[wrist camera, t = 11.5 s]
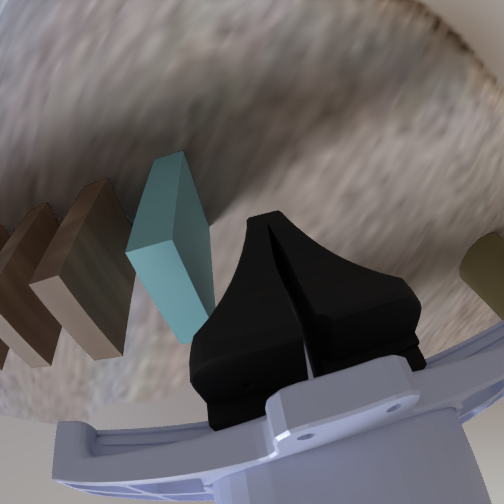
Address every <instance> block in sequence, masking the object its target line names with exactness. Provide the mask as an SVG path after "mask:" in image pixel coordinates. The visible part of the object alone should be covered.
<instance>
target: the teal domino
mask: <svg viewBox="0 0 504 504" xmlns="http://www.w3.org/2000/svg"><path fill="white" fill-rule="evenodd" d="M125 253H126V255H127V257H128V259H129V260H130V262H131V264H132V266H133V267H134V269H135V271H136V273H137V274H138V276H139V278H140V280H141V281H142V283H143V285H144V286H145V288H146V290H147V291H148V293H149V295H150V296H151V298H152V300H153V301H154V303H155V305H156V306H157V308H158V309H159V311H160V313H161V314H162V316H163V317H164V319H165V320H166V322H167V324H168V325H169V327H170V328H171V330H172V331H173V333H174V334H175V336H176V337H177V339H178V340H179V342H180V343H181V344H185V343H190V342H192V340H193V336H194V334H195V333H196V332H197V331H198V330H199V329H200V328H201V327H202V325H203V324H204V323H205V322H206V321H207V319H208V318H209V317H210V316H211V314H212V313H213V311H214V310H215V297H214V286H213V273H212V260H211V246H210V231H209V225H208V222H207V219H206V216H205V213H204V211H203V208H202V205H201V202H200V199H199V196H198V193H197V190H196V187H195V184H194V181H193V178H192V175H191V172H190V169H189V166H188V163H187V160H186V157H185V154H184V151H180V152H176V153H173V154H170V155H167V156H164V157H161V158H158V159H155V160H154V163H153V165H152V168H151V171H150V174H149V177H148V180H147V183H146V186H145V189H144V192H143V195H142V198H141V201H140V204H139V207H138V211H137V214H136V217H135V220H134V224H133V227H132V231H131V234H130V238H129V241H128V245H127V248H126V252H125Z"/></svg>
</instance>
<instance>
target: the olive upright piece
mask: <svg viewBox="0 0 504 504" xmlns="http://www.w3.org/2000/svg"><path fill="white" fill-rule="evenodd" d="M460 277H461V279H462V280H463V281H464V282H466V283H467V284H468V285H469V286H470V287H471V288H472V289H473V290H474V291H475V292H476V293H477V294H478V295H479V296H480V297H481V298H482V299H483V300H484V301H485V302H486V303H487V304H488V305H489V306H490V307H491V308H492V310H493V311H494V312H495V313H496V314H497V315H498V316H499V317H500V318H501V319H502V320H504V241H503V240H502V238H501V237H500V236H499V235H498V234H497V233H489V234H486V235H485V236H483V237H482V238H480V239H479V240H478V241H477V242H476V243H475V244H474V245H473V246H472V247H471V248H470V250H469V251H468V252H467V254H466V255H465V257H464V259H463V261H462V264H461V267H460Z"/></svg>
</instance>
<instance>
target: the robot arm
mask: <svg viewBox="0 0 504 504" xmlns="http://www.w3.org/2000/svg"><path fill="white" fill-rule="evenodd" d="M421 308H422V307H421V304H420V301H419V300H418V298H417V297H416V295H415V294H414V292H413V291H412V289H411V288H410V287H409V286H408V285H407V284H406V283H405V281H404V280H403V279H402V278H398V277H394V276H390V275H387V274H383V273H379V272H376V271H373V270H370V269H367V268H364V267H362V266H359V265H357V264H355V263H352V262H350V261H348V260H346V259H343V258H342V257H340V256H338V255H336V254H334V253H332V252H331V251H329V250H327V249H326V248H324V247H323V246H321V245H320V244H318V243H317V242H315V241H314V240H312V239H311V238H310V237H308V236H307V235H306V234H305V233H304V232H302V231H301V230H300V229H299V228H297V227H296V226H295V225H294V224H293V223H292V222H291V221H290V220H289V219H288V218H287V217H286V216H285V215H284V214H283V213H282V212H280V211H279V210H277V211H273V212H269V213H265V214H261V215H257V216H253V217H249V218H248V219H247V230H246V237H245V242H244V246H243V250H242V254H241V257H240V260H239V263H238V266H237V269H236V271H235V274H234V276H233V278H232V280H231V283H230V285H229V286H228V288H227V290H226V292H225V294H224V296H223V297H222V299H221V301H220V302H219V304H218V305H217V307H216V308H215V310H214V311H213V313H212V314H211V316H210V317H209V318H208V319H207V321H206V322H205V323H204V324H203V325H202V327H201V328H200V329H199V330H198V331H197V332H196V333H195V334H194V336H193V340H192V345H191V351H190V360H189V367H190V382H191V384H192V386H193V388H194V389H195V390H196V391H197V393H198V394H199V395H200V396H201V397H202V399H203V400H204V401H205V402H206V403H207V410H208V421H205V422H198V423H190V424H182V425H173V426H163V427H152V428H139V429H120V430H96V429H95V428H93V427H92V426H90V425H89V424H87V423H84V422H79V421H59V422H58V424H57V431H56V439H55V447H54V458H53V469H52V479H53V481H56V482H59V483H61V484H63V485H66V486H69V487H72V488H74V489H77V490H80V491H83V492H86V493H89V494H92V495H98V496H107V497H116V498H127V499H140V500H156V501H214V502H215V504H491V500H490V498H489V495H488V492H487V489H486V486H485V483H484V480H483V477H482V475H481V472H480V469H479V467H478V464H477V462H476V459H475V456H474V454H473V451H472V449H471V447H470V444H469V442H468V439H467V437H466V435H465V432H464V430H463V428H462V424H464V423H465V422H467V421H468V420H470V419H472V418H473V417H475V416H476V415H478V414H479V413H481V412H482V411H484V410H485V409H487V408H488V407H490V406H491V405H492V404H494V403H495V402H497V401H498V400H500V399H501V398H502V397H504V320H503V321H501V322H499V323H497V324H496V325H494V326H492V327H490V328H488V329H487V330H485V331H483V332H481V333H479V334H477V335H475V336H473V337H471V338H469V339H467V340H465V341H463V342H461V343H459V344H457V345H455V346H453V347H451V348H449V349H447V350H445V351H443V352H440V353H438V354H436V355H434V356H432V357H429V358H427V359H424V357H423V355H422V353H421V351H420V349H419V347H418V345H419V339H418V337H417V336H416V334H415V330H416V327H417V324H418V321H419V318H420V314H421Z"/></svg>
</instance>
